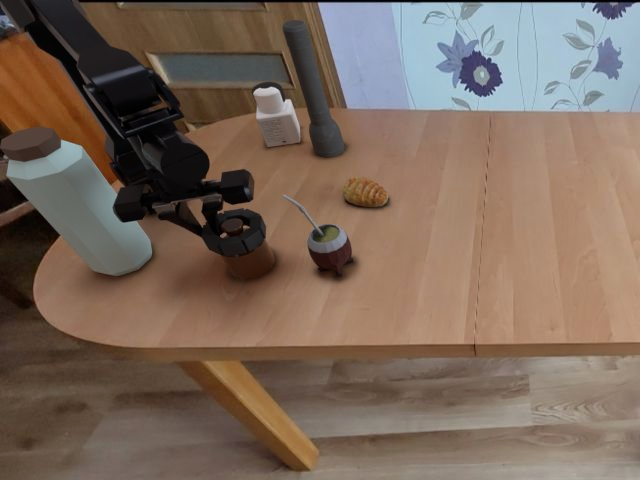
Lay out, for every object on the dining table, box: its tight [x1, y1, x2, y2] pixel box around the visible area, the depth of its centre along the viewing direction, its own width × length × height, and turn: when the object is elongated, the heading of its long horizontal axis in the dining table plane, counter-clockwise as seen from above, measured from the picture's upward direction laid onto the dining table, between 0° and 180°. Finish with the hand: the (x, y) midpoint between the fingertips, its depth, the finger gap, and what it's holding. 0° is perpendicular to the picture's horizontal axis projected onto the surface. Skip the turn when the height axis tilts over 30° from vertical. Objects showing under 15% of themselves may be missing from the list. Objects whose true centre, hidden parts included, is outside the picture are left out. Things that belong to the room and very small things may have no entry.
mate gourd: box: [281, 193, 354, 278], centre depth 80 cm, size 8×8×15 cm
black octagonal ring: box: [200, 207, 267, 257], centre depth 79 cm, size 9×9×2 cm
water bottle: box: [0, 125, 153, 277], centre depth 76 cm, size 10×10×25 cm
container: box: [251, 81, 301, 148], centre depth 110 cm, size 8×8×13 cm
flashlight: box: [282, 19, 346, 158], centre depth 101 cm, size 7×28×7 cm
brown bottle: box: [220, 219, 276, 280], centre depth 82 cm, size 8×8×10 cm
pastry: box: [341, 176, 389, 208], centre depth 98 cm, size 9×7×4 cm
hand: (211, 234), depth 79 cm, fingers closed on black octagonal ring, 2 cm apart
